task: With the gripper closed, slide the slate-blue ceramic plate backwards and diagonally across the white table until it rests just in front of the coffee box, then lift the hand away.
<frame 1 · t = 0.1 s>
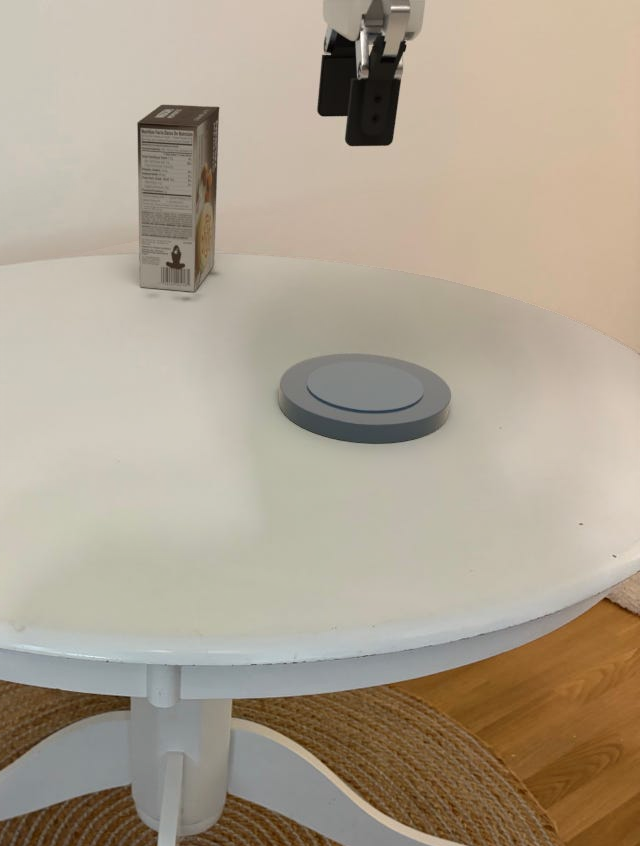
hand: (352, 129, 71), 21 cm above the table, tool pointing down, fingers open, 9 cm apart
plate: (362, 404, 83), on the table
coffee box: (177, 278, 108), on the table
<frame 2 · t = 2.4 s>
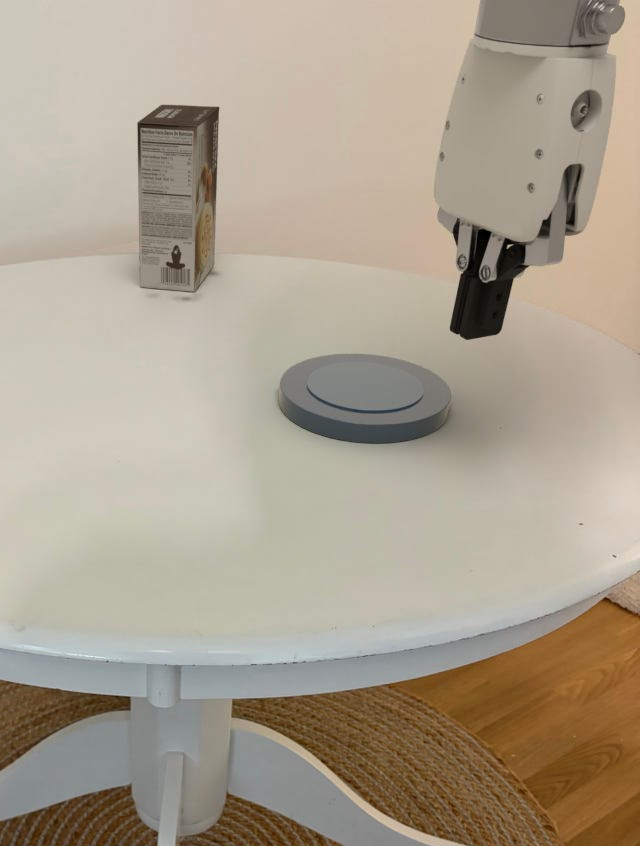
hand: (474, 332, 68), 10 cm above the table, tool pointing down, fingers closed
nothing on the table moved.
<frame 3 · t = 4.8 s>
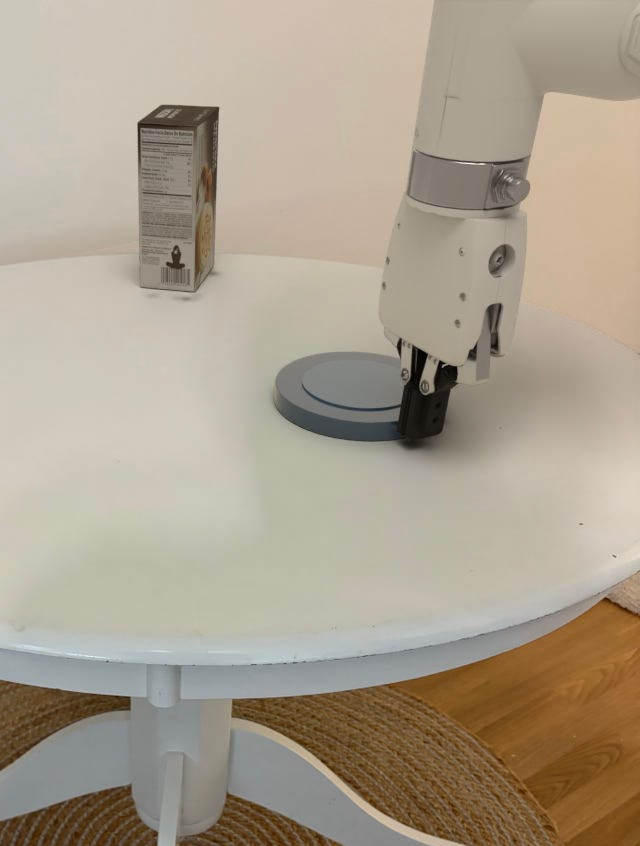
hand: (419, 433, 76), 1 cm above the table, tool pointing down, fingers closed
plate: (357, 402, 83), on the table, touching gripper
everything else where it was.
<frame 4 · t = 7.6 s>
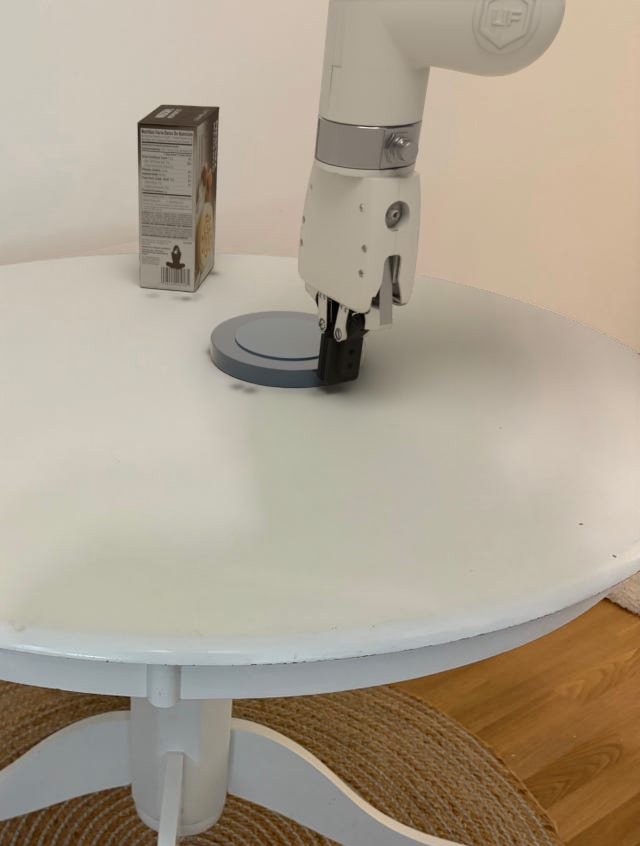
hand: (337, 378, 84), 1 cm above the table, tool pointing down, fingers closed
plate: (286, 355, 91), on the table, touching gripper
everything else where it was.
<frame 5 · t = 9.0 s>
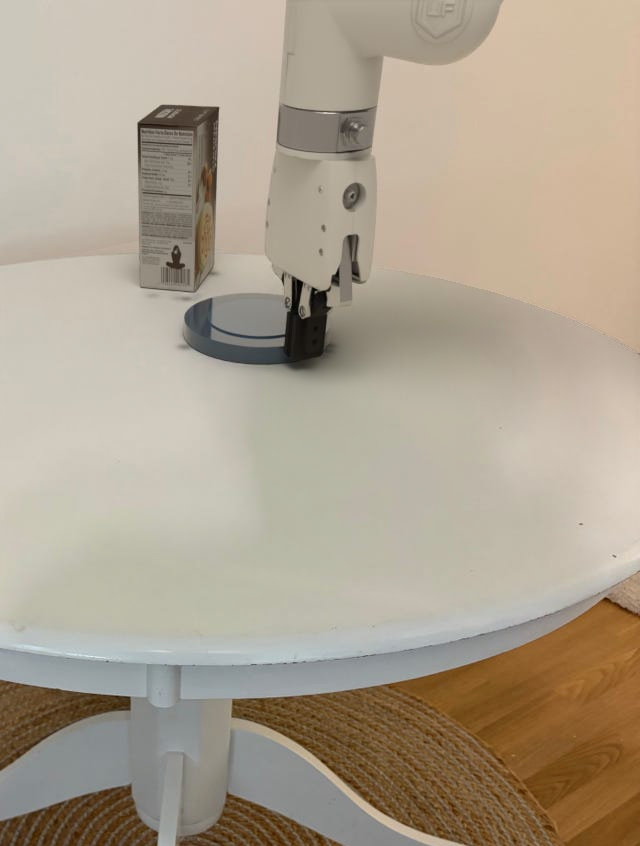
hand: (303, 355, 88), 1 cm above the table, tool pointing down, fingers closed
plate: (256, 334, 95), on the table, touching gripper
everything else where it was.
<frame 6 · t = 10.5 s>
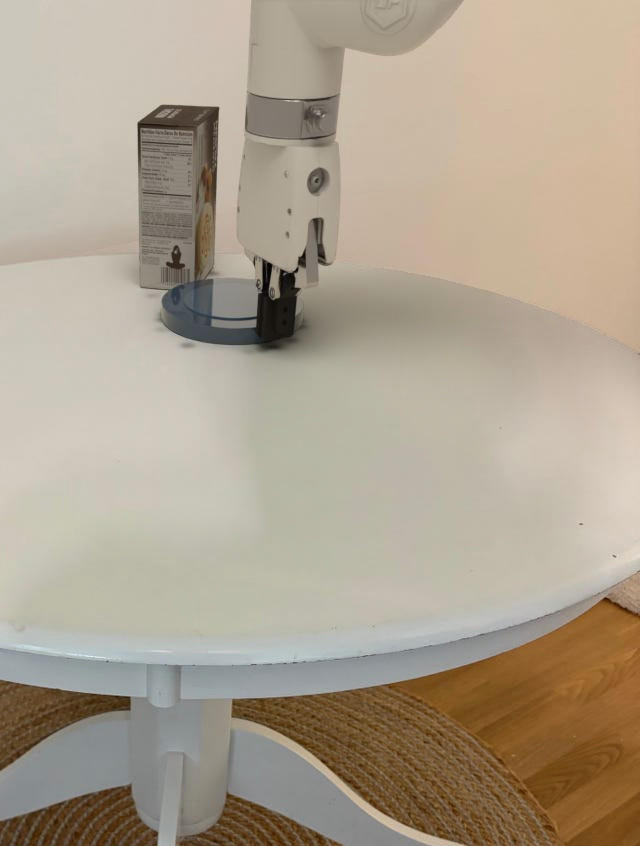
hand: (274, 335, 92), 1 cm above the table, tool pointing down, fingers closed
plate: (231, 317, 98), on the table, touching gripper
everything else where it was.
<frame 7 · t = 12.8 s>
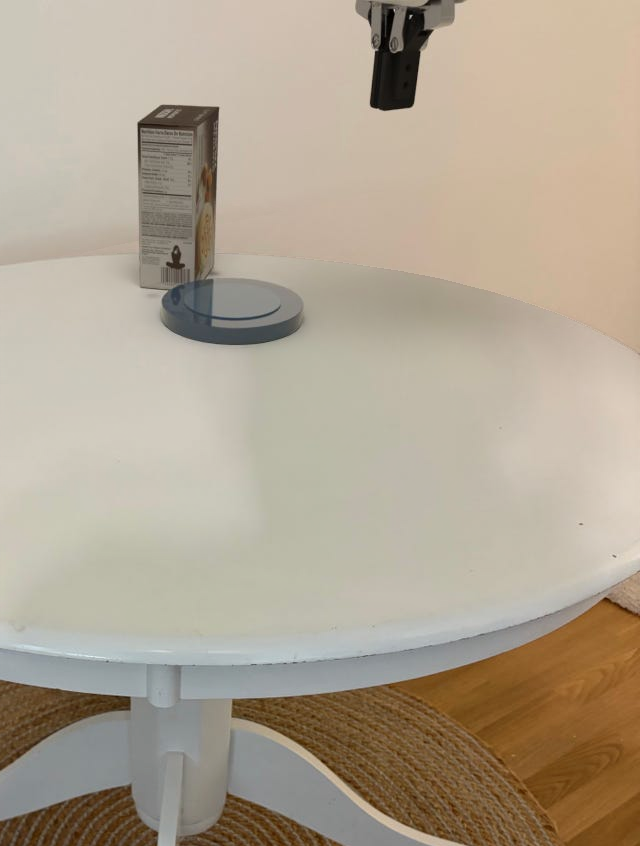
hand: (391, 107, 79), 20 cm above the table, tool pointing down, fingers closed
plate: (231, 317, 98), on the table
everything else where it was.
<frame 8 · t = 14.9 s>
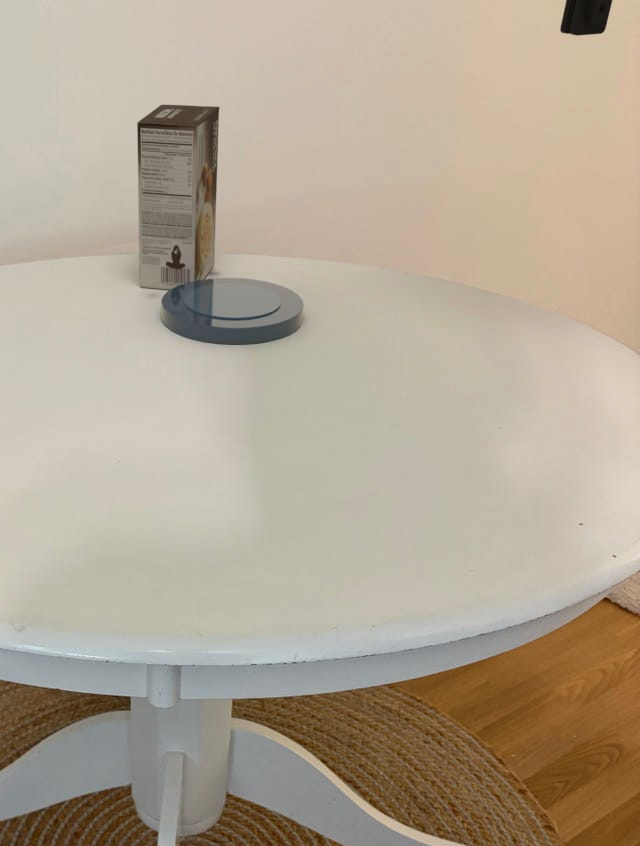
hand: (581, 32, 78), 25 cm above the table, tool pointing down, fingers closed
nothing on the table moved.
at the end: plate 13.1 cm from the coffee box (horizontally); plate moved 22.2 cm from its start; coffee box moved 0.2 cm from its start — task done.
